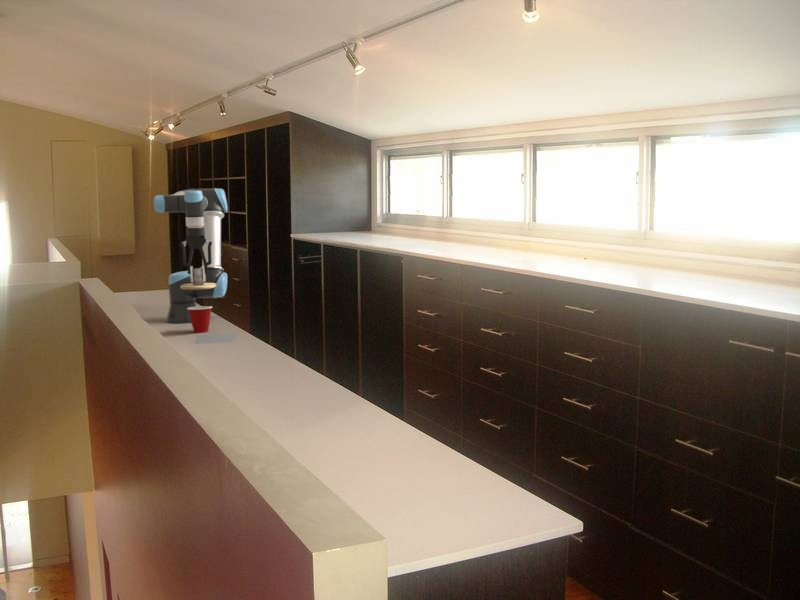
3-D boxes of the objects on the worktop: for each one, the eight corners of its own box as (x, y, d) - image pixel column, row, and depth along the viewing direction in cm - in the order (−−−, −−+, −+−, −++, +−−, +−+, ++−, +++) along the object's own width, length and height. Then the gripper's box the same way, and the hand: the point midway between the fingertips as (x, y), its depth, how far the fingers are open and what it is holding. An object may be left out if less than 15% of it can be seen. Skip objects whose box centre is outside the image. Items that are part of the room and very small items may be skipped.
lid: (182, 285, 349) (181, 267, 348) (217, 284, 352) (216, 266, 350) (179, 290, 335) (178, 271, 333) (215, 289, 337) (214, 270, 336)
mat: (197, 337, 339) (197, 334, 339) (236, 335, 342) (236, 332, 342) (195, 345, 323) (195, 343, 322) (235, 343, 325) (235, 341, 325)
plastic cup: (211, 330, 354) (210, 303, 352) (215, 334, 344) (214, 307, 342) (186, 332, 350) (185, 305, 348) (190, 337, 340) (188, 309, 338)
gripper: (173, 228, 334) (176, 283, 338) (215, 227, 337) (218, 281, 341) (174, 227, 341) (178, 281, 345) (216, 225, 344) (219, 279, 348)
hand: (198, 281), depth 343 cm, fingers closed on lid, 4 cm apart
